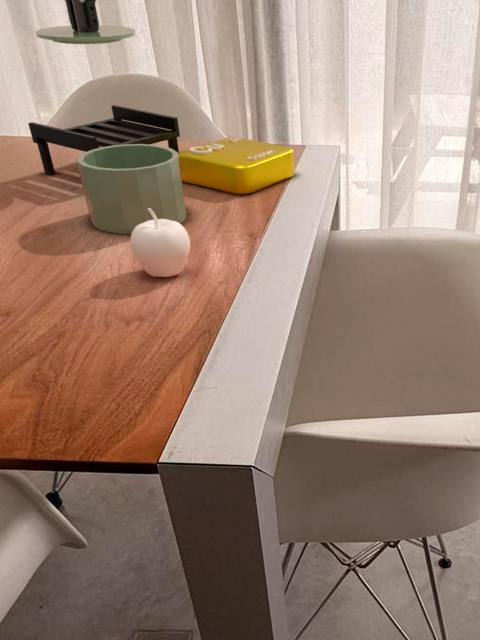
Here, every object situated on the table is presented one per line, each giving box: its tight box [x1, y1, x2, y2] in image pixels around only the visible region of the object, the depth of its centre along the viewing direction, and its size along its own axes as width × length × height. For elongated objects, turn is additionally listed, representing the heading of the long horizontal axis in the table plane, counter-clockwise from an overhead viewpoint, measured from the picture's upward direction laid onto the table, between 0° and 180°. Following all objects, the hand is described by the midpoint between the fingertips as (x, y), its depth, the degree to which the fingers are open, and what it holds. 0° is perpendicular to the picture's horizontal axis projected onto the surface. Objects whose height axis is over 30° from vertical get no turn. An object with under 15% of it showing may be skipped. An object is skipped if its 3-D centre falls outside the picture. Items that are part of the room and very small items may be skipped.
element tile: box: [178, 136, 295, 195], centre depth 116 cm, size 15×15×5 cm
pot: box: [76, 144, 188, 235], centre depth 99 cm, size 14×14×8 cm
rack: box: [27, 104, 181, 176], centre depth 117 cm, size 18×16×8 cm
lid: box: [35, 0, 137, 45], centre depth 105 cm, size 15×15×6 cm
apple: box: [129, 208, 191, 278], centre depth 84 cm, size 7×7×8 cm
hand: (85, 30), depth 106 cm, fingers closed on lid, 2 cm apart
